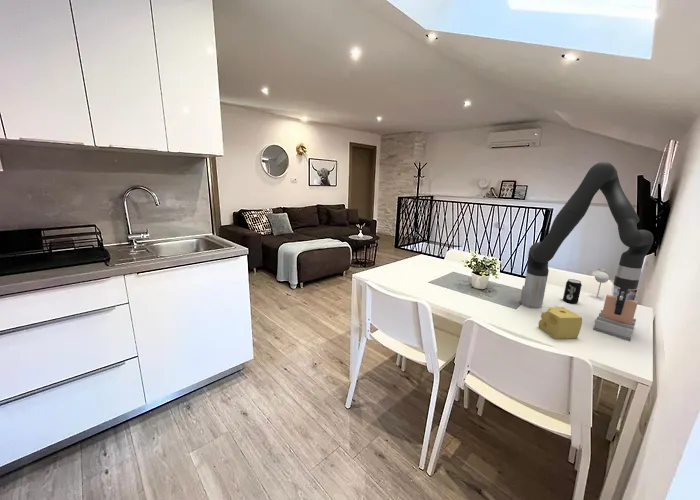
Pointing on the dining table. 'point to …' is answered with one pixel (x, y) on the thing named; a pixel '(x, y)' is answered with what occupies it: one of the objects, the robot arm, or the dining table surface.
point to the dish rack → (614, 327)
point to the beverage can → (572, 291)
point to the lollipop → (601, 279)
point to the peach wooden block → (627, 310)
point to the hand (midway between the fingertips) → (617, 313)
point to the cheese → (560, 323)
